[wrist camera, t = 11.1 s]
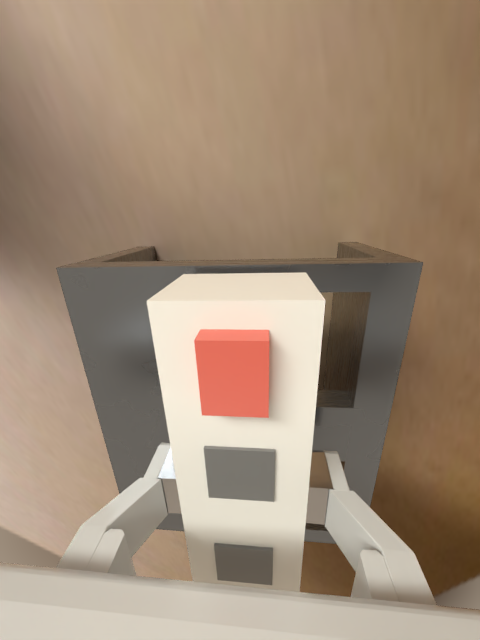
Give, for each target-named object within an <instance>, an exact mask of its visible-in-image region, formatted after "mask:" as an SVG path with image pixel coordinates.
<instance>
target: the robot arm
mask: <svg viewBox="0 0 480 640" xmlns="http://www.w3.org/2000/svg"><path fill="white" fill-rule="evenodd" d="M168 513H179V514H182V513H181V507H180V501H179V495H178V489H177V483H176V476H175V470H174V464H173V458H172V452H171V446H170V443H161V444H160V445H159V446H158V448H157V450H156V452H155V454H154V456H153V458H152V461H151V463H150V465H149V467H148V469H147V471H146V473H145V475H144V478H139V479H138V480H136V481H135V482H134V483H133V484H131V485H130V486H129V487H128V488H126V489H125V490H124V491H123V492H122V493H120V494H119V495H118V496H117V497H115V498H114V499H113V500H112V501H110V502H109V503H108V504H107V505H105V506H104V507H103V508H102V509H101V510H99V511H98V512H97V513H96V514H94V515H93V516H92V517H91V518H89V519H88V520H87V521H86V522H84V523H83V524H82V525H81V527H80V528H79V530H78V532H77V533H76V535H75V537H74V538H73V540H72V542H71V543H70V545H69V547H68V548H67V550H66V552H65V553H64V555H63V557H62V558H61V560H60V562H59V563H58V565H57V567H56V568H51V567H41V566H31V565H21V564H11V563H1V562H0V640H480V610H477V609H476V610H475V609H467V608H457V607H456V608H455V607H446V606H437V604H436V602H435V599H434V597H433V595H432V593H431V590H430V588H429V586H428V584H427V581H426V579H425V577H424V574H423V572H422V570H421V568H420V565H419V563H418V561H417V558H416V556H415V554H414V552H413V551H412V550H411V549H410V548H409V547H408V546H407V545H406V544H405V543H404V542H403V541H402V540H401V539H400V538H399V537H398V536H397V535H396V534H395V533H394V532H393V531H392V530H391V529H390V528H389V526H388V525H387V524H386V523H385V522H384V521H383V520H382V519H381V518H380V517H379V516H378V515H377V514H376V513H375V512H374V511H373V510H372V509H371V508H370V507H369V506H368V505H367V504H366V503H365V502H364V501H363V500H362V499H361V498H360V497H359V496H358V495H357V494H356V493H355V492H354V491H350V490H349V486H348V483H347V480H346V477H345V473H344V470H343V467H342V464H341V460H340V457H339V454H338V452H337V451H320V450H312V457H311V468H310V479H309V491H308V502H307V513H306V523H313V524H322V525H325V527H326V528H327V530H328V531H329V533H330V534H331V536H332V537H333V539H334V540H335V542H336V543H337V545H338V546H339V548H340V549H341V551H342V552H343V554H344V555H345V557H346V558H347V560H348V561H349V563H350V564H351V566H352V567H353V569H354V570H355V572H356V575H355V579H354V584H353V588H352V593H351V597H345V596H335V595H325V594H315V593H305V592H295V591H285V590H275V589H265V588H254V587H244V586H234V585H224V584H214V583H203V582H193V581H183V580H173V579H163V578H153V577H142V576H136V572H135V569H134V566H133V562H132V559H131V557H132V556H133V555H134V554H135V553H136V551H137V550H138V549H139V548H140V547H141V546H142V544H143V543H144V542H145V541H146V540H147V538H148V537H149V536H150V535H151V534H152V533H153V531H154V530H155V529H156V528H157V527H158V525H159V524H160V523H161V522H162V521H163V520H164V518H165V517H166V516H167V515H168Z"/></svg>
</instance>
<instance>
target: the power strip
mask: <svg viewBox="0 0 480 640" xmlns="http://www.w3.org/2000/svg"><path fill="white" fill-rule="evenodd" d="M147 307H148V313H149V319H150V325H151V331H152V337H153V343H154V349H155V356H156V362H157V368H158V374H159V380H160V386H161V392H162V398H163V404H164V410H165V416H166V422H167V428H168V434H169V440H170V446H171V452H172V458H173V464H174V470H175V476H176V483H177V489H178V495H179V501H180V507H181V513H182V519H183V525H184V531H185V537H186V543H187V549H188V555H189V561H190V567H191V573H192V579H193V582H203V583H214V584H224V585H234V586H244V587H254V588H265V589H275V590H285V591H295V592H300V581H301V570H302V558H303V547H304V536H305V525H306V513H307V502H308V491H309V479H310V468H311V457H312V446H313V434H314V423H315V412H316V400H317V389H318V378H319V367H320V355H321V344H322V333H323V321H324V310H325V299H324V298H323V296H322V295H321V293H320V292H319V290H318V289H317V288H316V286H315V285H314V283H313V282H312V280H311V279H310V278H309V276H308V275H307V273H306V272H302V273H227V274H183V275H182V276H180V277H179V278H177V279H176V280H175V281H173V282H172V283H171V284H169V285H168V286H166V287H165V288H164V289H162V290H161V291H159V292H158V293H157V294H155V295H154V296H153V297H151V298H150V299H148V300H147Z"/></svg>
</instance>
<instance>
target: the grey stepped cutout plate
mask: <svg viewBox="0 0 480 640" xmlns="http://www.w3.org/2000/svg"><path fill="white" fill-rule="evenodd" d="M422 266H423V262H420V261H417V260H414V259H410V258H407V257H404V256H401V255H397V254H394V253H391V252H387V251H384V250H381V249H378V248H374V247H371V246H368V245H364V244H361V243H358V242H339V243H338V253H337V258H318V259H258V260H198V261H156V256H155V249H154V247H136V248H132V249H128V250H124V251H121V252H117V253H113V254H109V255H105V256H101V257H97V258H93V259H89V260H85V261H81V262H77V263H73V264H69V265H65V266H61V267H58V268H56V269H57V272H58V276H59V280H60V283H61V287H62V290H63V294H64V297H65V301H66V304H67V308H68V312H69V315H70V319H71V322H72V326H73V329H74V333H75V337H76V340H77V344H78V347H79V351H80V354H81V358H82V362H83V365H84V369H85V372H86V376H87V379H88V383H89V386H90V390H91V394H92V397H93V401H94V404H95V408H96V411H97V415H98V419H99V422H100V426H101V429H102V433H103V436H104V440H105V443H106V447H107V451H108V454H109V458H110V461H111V465H112V468H113V472H114V476H115V479H116V483H117V486H118V490H119V493H122V492H123V491H124V490H125V489H126V488H128V487H129V486H130V485H131V484H133V483H134V482H135V481H136V480H138V479H139V478H144V475H145V473H146V471H147V469H148V467H149V465H150V463H151V461H152V458H153V456H154V454H155V452H156V450H157V448H158V446H159V445H160V444H161V443H170V440H169V434H168V428H167V422H166V416H165V410H164V404H163V398H162V392H161V386H160V380H159V374H158V368H157V362H156V356H155V349H154V343H153V337H152V331H151V325H150V319H149V313H148V307H147V300H148V299H150V298H151V297H153V296H154V295H155V294H157V293H158V292H159V291H161V290H162V289H164V288H165V287H166V286H168V285H169V284H171V283H172V282H173V281H175V280H176V279H177V278H179V277H180V276H182V275H183V274H227V273H302V272H306V273H307V275H308V276H309V278H310V279H311V280H312V282H313V283H314V285H315V286H316V288H317V289H318V290H319V292H333V302H332V312H331V322H330V332H329V342H328V352H327V362H326V372H325V382H324V390H317V400H316V412H315V423H314V434H313V446H312V450H320V451H337V452H338V454H339V457H340V460H341V464H342V467H343V470H344V473H345V477H346V480H347V483H348V486H349V490H350V491H354V492H355V493H356V494H357V495H358V496H359V497H360V498H361V499H362V500H363V501H364V502H365V503H366V504H367V505H368V506H369V507H370V505H371V500H372V495H373V491H374V486H375V482H376V477H377V472H378V468H379V463H380V459H381V454H382V449H383V445H384V440H385V436H386V431H387V426H388V422H389V417H390V413H391V408H392V403H393V399H394V394H395V390H396V385H397V380H398V376H399V371H400V367H401V362H402V358H403V353H404V348H405V344H406V339H407V335H408V330H409V325H410V321H411V316H412V312H413V307H414V302H415V298H416V293H417V289H418V284H419V279H420V275H421V270H422ZM156 529H162V530H174V531H184V525H183V519H182V514H179V513H168V515H167V516H166V517H165V518H164V520H163V521H162V522H161V523H160V524H159V525H158V527H157V528H156ZM304 541H308V542H321V543H333V544H337V543H336V542H335V540H334V539H333V537H332V536H331V534H330V533H329V531H328V530H327V528H326V527H325V525H322V524H313V523H306V525H305V536H304Z"/></svg>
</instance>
